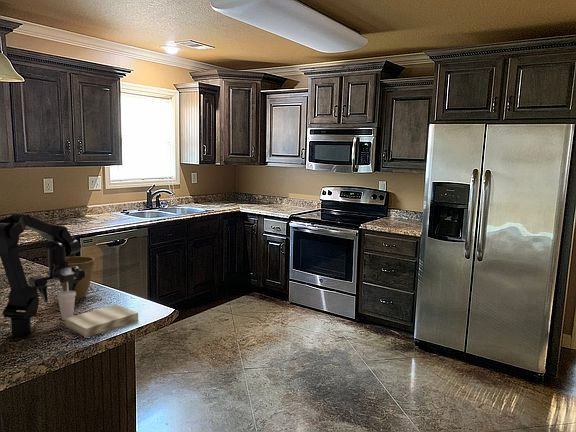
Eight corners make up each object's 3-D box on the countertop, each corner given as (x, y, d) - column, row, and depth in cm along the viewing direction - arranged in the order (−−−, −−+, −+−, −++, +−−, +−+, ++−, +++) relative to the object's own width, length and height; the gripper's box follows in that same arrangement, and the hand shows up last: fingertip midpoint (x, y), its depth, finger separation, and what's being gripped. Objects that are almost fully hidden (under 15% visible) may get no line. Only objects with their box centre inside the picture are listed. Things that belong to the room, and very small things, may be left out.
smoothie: (69, 322, 160) (67, 284, 158) (53, 320, 161) (52, 283, 160) (80, 316, 166) (79, 280, 164) (65, 314, 168) (64, 278, 166)
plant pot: (102, 295, 191) (101, 259, 188) (68, 304, 178) (67, 265, 176) (82, 288, 199) (81, 254, 197) (49, 297, 187) (47, 260, 184)
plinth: (86, 337, 148) (86, 328, 148) (65, 326, 156) (65, 318, 156) (138, 320, 164) (138, 312, 163) (116, 311, 172) (116, 304, 172)
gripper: (41, 267, 152) (43, 310, 154) (92, 258, 167) (93, 298, 169) (26, 261, 159) (28, 303, 161) (77, 253, 174) (78, 292, 176)
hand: (58, 299), depth 167 cm, fingers open, 9 cm apart
